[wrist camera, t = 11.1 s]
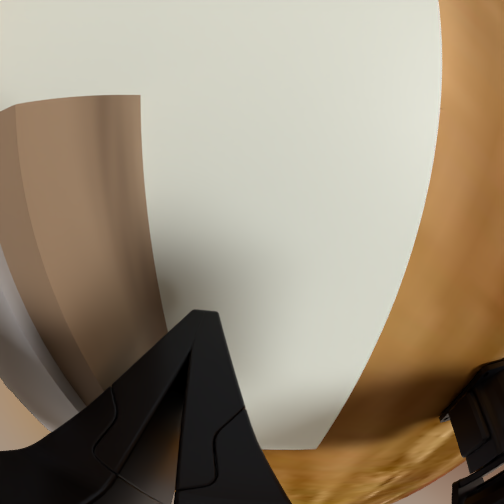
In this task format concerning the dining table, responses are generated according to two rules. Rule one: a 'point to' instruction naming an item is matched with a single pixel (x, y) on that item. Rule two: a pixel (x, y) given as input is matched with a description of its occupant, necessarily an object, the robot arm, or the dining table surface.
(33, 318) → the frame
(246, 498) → the robot arm
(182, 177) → the wall board
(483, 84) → the dining table surface
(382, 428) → the dining table surface
